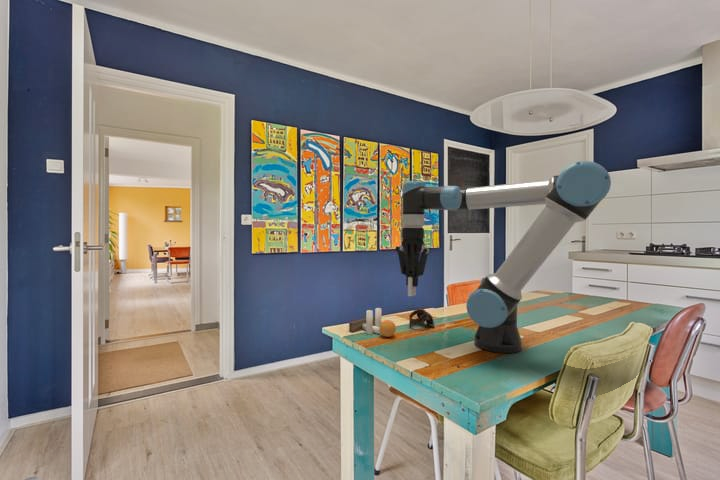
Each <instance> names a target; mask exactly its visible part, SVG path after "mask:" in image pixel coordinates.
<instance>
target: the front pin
mask: <svg viewBox="0 0 720 480" xmlns="http://www.w3.org/2000/svg"><path fill="white" fill-rule="evenodd" d="M362 329H363V331H366V324H365V323H364V324H363V325H362ZM373 333H374V334H377V335H382V334H381V333H380V330H379V327H376V326H373Z"/></svg>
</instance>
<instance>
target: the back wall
mask: <svg viewBox="0 0 720 480" xmlns="http://www.w3.org/2000/svg"><path fill="white" fill-rule="evenodd" d="M364 323H365V324H366V317H363V318H360V319H356V320H353V321H349V322H348V332H349V333H356V332H360V331H362V330H363V329H362V325H363V324H364ZM373 326H375V316H373ZM363 331H364V330H363Z"/></svg>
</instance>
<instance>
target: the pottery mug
mask: <svg viewBox="0 0 720 480" xmlns="http://www.w3.org/2000/svg"><path fill="white" fill-rule="evenodd" d="M415 315H416V317H417V318H413V317H414V316H415ZM408 316H409V318H408V319H409V321H408V324H409V326H410V328H412V327H413V326H419V325H425V322H426V325H427V326H432V328H433V329H436V327H435V322H434V319H433V317H432V314H431V313H429V312H428V311H426V309H424V308H417V309H415V310H414V311H412V312H411V313H410V314H409V315H408Z"/></svg>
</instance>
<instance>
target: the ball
mask: <svg viewBox="0 0 720 480" xmlns="http://www.w3.org/2000/svg"><path fill="white" fill-rule="evenodd" d="M379 330H380V333H381V334H380V335H382V336H383V337H386V338H388V337H389V338H391V337H393V336H394V335H395V333H396V331H397V326H396V323H395V322H393V321H392V320H389V319H385V320H383V321H381V324H380V327H379Z"/></svg>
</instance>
